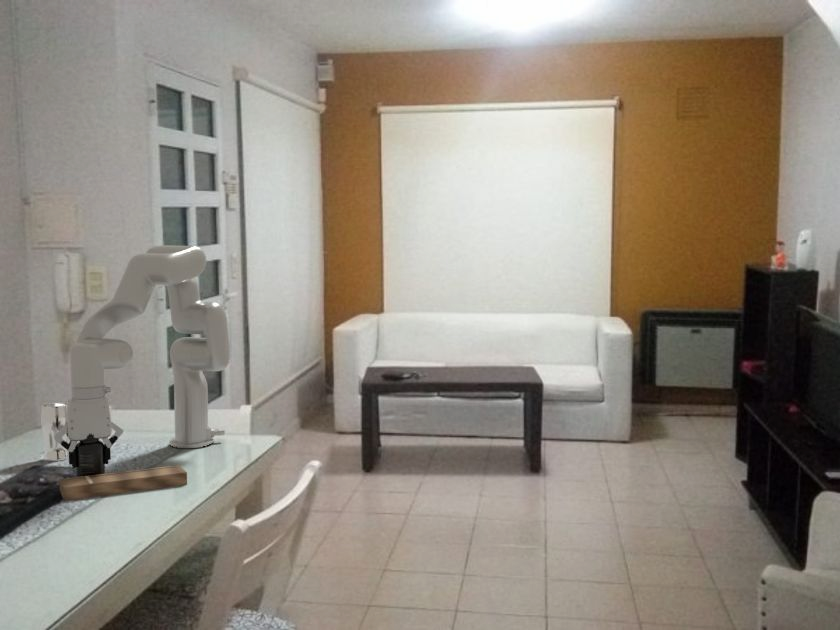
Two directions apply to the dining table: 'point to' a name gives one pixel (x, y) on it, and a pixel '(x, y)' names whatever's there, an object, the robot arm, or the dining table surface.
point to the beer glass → (54, 430)
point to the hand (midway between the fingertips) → (90, 464)
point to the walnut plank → (122, 482)
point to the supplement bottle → (90, 457)
